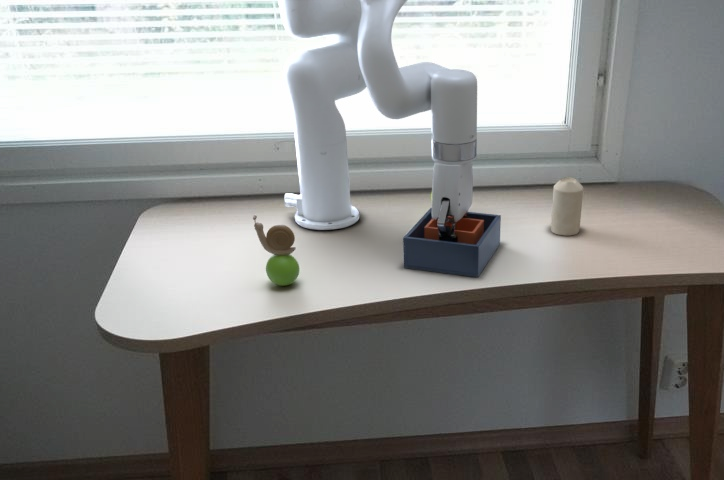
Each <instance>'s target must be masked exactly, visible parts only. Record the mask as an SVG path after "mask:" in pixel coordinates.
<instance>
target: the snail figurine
mask: <svg viewBox="0 0 724 480" xmlns="http://www.w3.org/2000/svg"><path fill="white" fill-rule="evenodd" d="M257 217H258V216H257V215H256V214H253V216H252V219H253V221H254V225H253V227H254V230H255V231H256V235H257V237H258V240H259V242H260V244H261V246H262V247H263V249H264V250H265V251H266V252H267V253H269V254H271V256H270V257H269V258H268V260H267V262H266V265H265V273H266V276H267V278H268V279H269V280H270V281H271V283H273V284H275V285H277V286H280V287H281V286H282V287H284V286H289V285H291V284H293V283H294V282H295V281H296V280H297V279H298V277H299V275H300V265H299V262H298V260H297V258H296V257H294V256H293V255H292V254H293V253H294V251H296V249H297V247H296V246H293V245H294V244H295V240H296V238H295V233H294V232H293V230H292V229H291V228H290V227H289V226H287V225H285V224H275V225H273V226H271V227H270V228H269V229H268V230H267V232H266V234H265V232H264V225H263V223H261V222H259V221H256V220H257Z"/></svg>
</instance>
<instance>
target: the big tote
mask: <svg viewBox="0 0 724 480" xmlns="http://www.w3.org/2000/svg"><path fill="white" fill-rule="evenodd" d="M452 217H453V216H452ZM469 218H470V219H478V220H484V234H483V236H482V237H481V238H480V240H479V241H478V242H477V244H476V245H473V244H465V243H457V242H448V241H440V240H431V239H425V232H424V227H425V226H426V225H427V224H428V223H429V222H430V221H431V219H432V207H430V208H429V209H428V210H427V211H426V212H425V213H424V214H423V215H422V216H421V217H420V218H419V220H418V221H416V223H415V224H414V225H413V226H412V227H411V228H410V229H409V231H407V233H406V234H405V235H404V236H403V237H402V250H403V268H404V269H409V270H418V271H424V272H425V271H426V272H431V273H441V274H447V275H448V274H449V275H457V276H463V277H464V276H465V277H471V278H479V276H480V275H481V274H482V272H483V270H484V269H485V267H486V266H487V265H488V263H489V261H490V260H491V259H492V257H493V255H494V254H495V252H496V251H497V250H498V248H499V246H500V245H501V227H502V225H501V224H502V223H501V222H502V215H501V214H492V213H483V212H474V211H469Z"/></svg>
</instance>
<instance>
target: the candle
mask: <svg viewBox="0 0 724 480" xmlns="http://www.w3.org/2000/svg"><path fill="white" fill-rule="evenodd" d="M583 197H584V186H583V185H582V184H581V182H579V181H578V180H577V179H575V177H572V176H570V177H564V178H563V179H562V178H560V179H559V180H558V181H557V182H556V183H555V184H554V185H553V190H552V204H551V218H550V219H551V221H550V231H551V232H552V233H553V234H556V235H559V236H574V235H577V234H578V233H579V232H580V229H581V219H582V218H581V217H582V207H583Z"/></svg>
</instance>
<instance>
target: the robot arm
mask: <svg viewBox="0 0 724 480" xmlns="http://www.w3.org/2000/svg"><path fill="white" fill-rule="evenodd" d="M277 1H278V2H277V3H278V6H279V12H280V18H281V21H282V25H283V27H284V29H285V31H286V33H287V34H288V35H289V36H290V37H292V38H294V39H296V40H314V39H318V38H323V37H326V42H327V44H326V43H325V44H320V45H315V46H311V47H306V48H302V49H300V50H298V51H296V52H294V53H292V54H291V55H290V56H289V57H288V58H287V60H286V61H285V63H284V66H283V70H282V80H283V86H284V89H285V90H284V91H285V92H286V96H287V99H288V104H289V108H290V111H291V118H292V124H293V132H294V141H295V152H296V163H297V173H298V180H299V181H298V183H299V191H300V192H299V193H300V194H295V193H288V192H287V193H285V194H284V196H283V201H284V206H285V207H287V208H295V209H296V212H295V213H294V221H295V223H297V225H298V226H300V227H302V228H305V229H309V230H314V231H315V230H317V231H331V230H338V229H345V228H347V227H350V226H352V225H354V224H356V223H357V222H358V221H359V219H360V211H359V209H357V207H355V206H353V205H352V204H351V201H352V199H351V187H350V171H349V158H348V157H349V156H348V141H347V131H346V124H345V121H344V118H343V116H342V114H341V113H340V110H339V108H338V107H337V105H336V101H338V100H340V99H344V98H347V97H351V96H354V95H358V94H360V93H361V92H363V91H364V90H365V89H367V91H368V94H369V96H370V99H371V101H372V102H373V105H374V106H375V108H376V109H377V110H378V112H379V113H380V114H381V115H383V116H384V117H385V118H388V119H390V120H391V119H392V120H401V119H404V118H408V117H412V116H414V115H417V114H420V113H424V112H429V111H430V120H431V121H430V123H431V124H430V126H431V127H430V128H431V130H430V131H431V160H432V161H433V162H434V165H433V170H432V171H433V172H432V183H431V184H432V186H431V193H432V201H431V208H432V218H433V219H434V220H436V219H437V218H438V217H439V218H438V222H437V225H438V230H439V240H440V241H448V242H457V243H458V237H456V228H457V221H459V220H460V219H461V218H469V212H470V211H469V209H470V208H471V207H472V204H473V197H474V196H473V195H474V173H473V172H474V171H473V162H475V161H476V160H477V149H478V148H477V147H478V142H477V141H478V140H477V139H478V80H477V76H476V75H475V74H474V73H473V72H472V71H469V70H466V69H465V70H464V69H457V68H456V69H455V68H452V69H451V68H447V67H446V66H442V65H440V64H438V63H435V62H429V61H424V62H423V61H422V62H418V63H414V64H410V65H405V66H401V67H399V65H398V62H397V60H396V56H395V53H394V48H393V44H392V43H393V42H392V30H393V26H394V22H395V20H396V17H397V15H398V13H399V12H400V10H401V9H402V7H404V5H405V4H406V3H407V2H408V0H277ZM448 216H453V217H454V218H453V219H448ZM447 223H452V230H451V228H450V226H448V224H447Z"/></svg>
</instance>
